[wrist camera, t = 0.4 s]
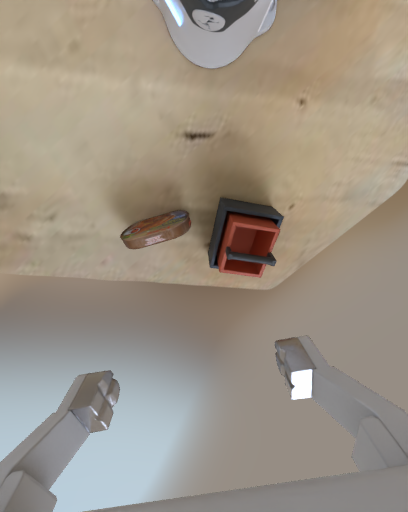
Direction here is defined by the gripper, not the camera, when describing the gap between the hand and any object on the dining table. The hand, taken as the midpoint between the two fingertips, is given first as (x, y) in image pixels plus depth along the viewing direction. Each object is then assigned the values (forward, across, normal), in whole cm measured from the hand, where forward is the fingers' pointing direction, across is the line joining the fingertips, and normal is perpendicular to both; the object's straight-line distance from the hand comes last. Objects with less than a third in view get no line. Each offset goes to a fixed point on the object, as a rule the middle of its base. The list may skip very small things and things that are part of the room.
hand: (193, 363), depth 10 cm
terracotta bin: (+38, -9, +7) cm, 39 cm away
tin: (+38, +8, +1) cm, 39 cm away
